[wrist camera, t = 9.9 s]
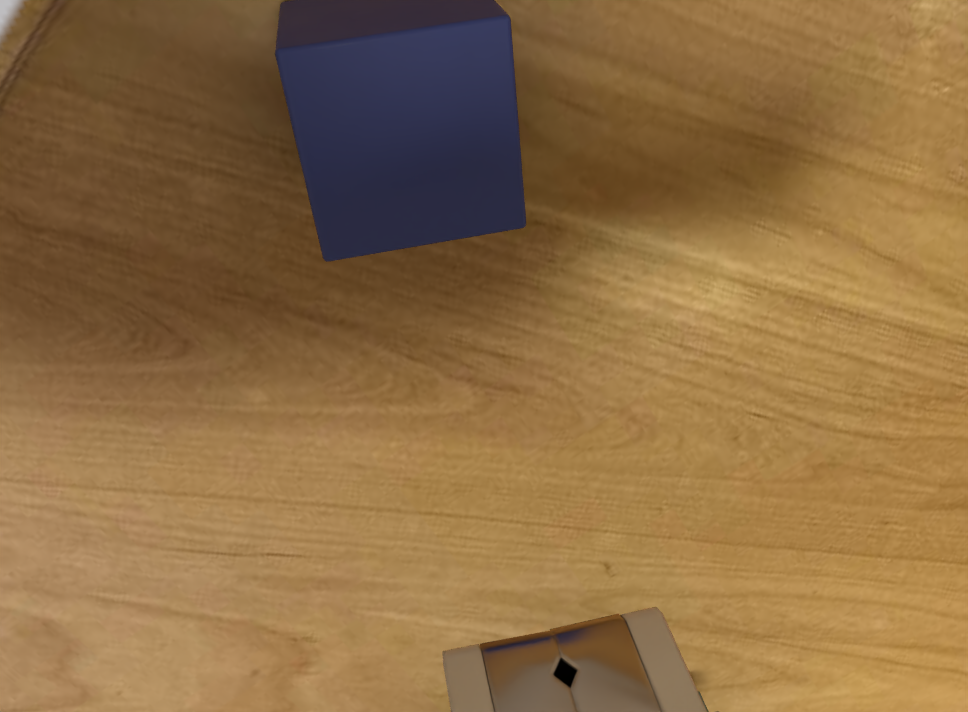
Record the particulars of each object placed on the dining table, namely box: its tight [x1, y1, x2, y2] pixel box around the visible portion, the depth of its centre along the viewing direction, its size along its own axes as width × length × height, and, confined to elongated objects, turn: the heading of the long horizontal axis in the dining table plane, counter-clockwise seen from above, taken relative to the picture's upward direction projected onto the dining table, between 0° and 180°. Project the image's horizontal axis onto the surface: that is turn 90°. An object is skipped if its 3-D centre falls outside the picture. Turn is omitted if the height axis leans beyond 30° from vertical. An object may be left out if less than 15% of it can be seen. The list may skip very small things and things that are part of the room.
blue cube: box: [275, 0, 526, 261], centre depth 18 cm, size 4×4×4 cm
